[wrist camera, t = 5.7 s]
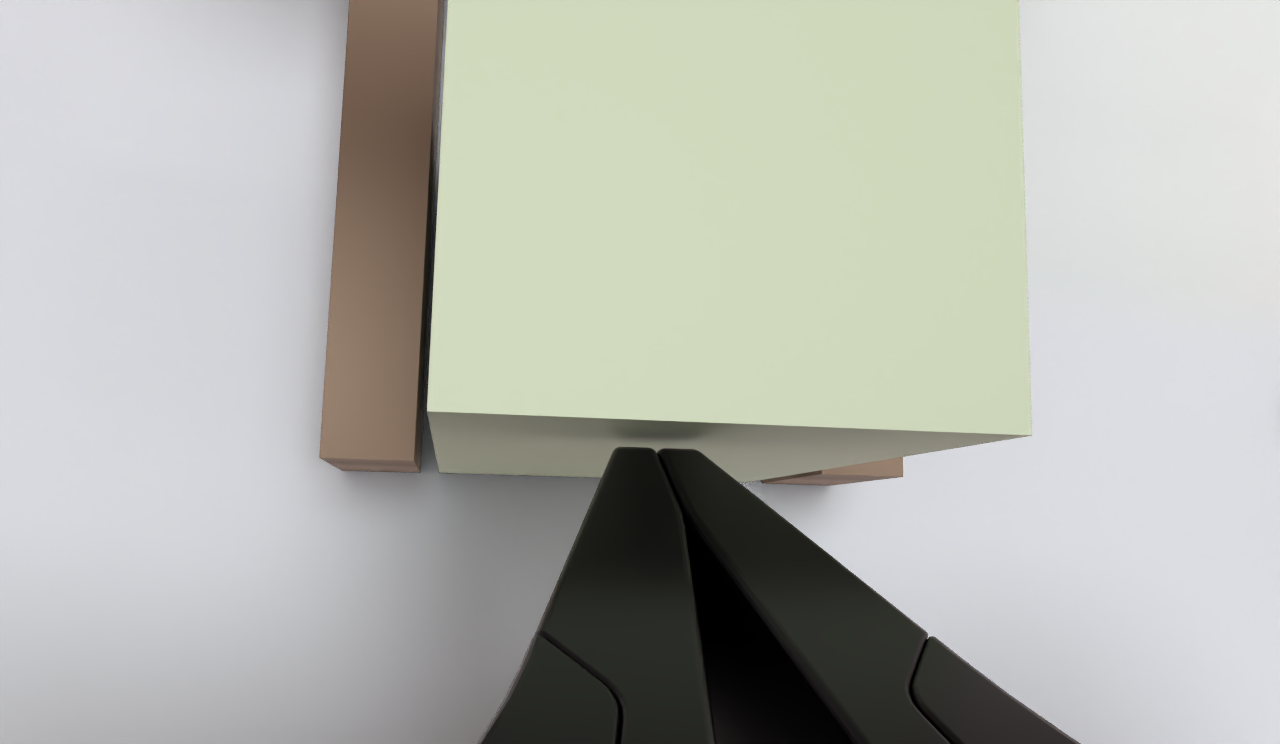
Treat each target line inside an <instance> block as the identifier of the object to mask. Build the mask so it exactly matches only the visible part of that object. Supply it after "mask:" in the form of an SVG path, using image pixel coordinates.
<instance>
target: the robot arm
mask: <svg viewBox="0 0 1280 744" xmlns="http://www.w3.org/2000/svg"><path fill="white" fill-rule="evenodd" d="M927 638H928V634H927V632H926V631H925V630H923V629H922V628H921V627H920V626H918V625H917V624H916V623H915V622H913V621H912V620H911V619H910V618H908V617H907V616H906V615H905V614H903V613H902V612H901V611H900V610H898V609H897V608H896V607H895V606H893V605H892V604H891V603H890V602H888V601H887V600H886V599H885V598H883V597H882V596H881V595H879V594H878V593H877V592H876V591H874V590H873V589H872V588H871V587H869V586H868V585H867V584H866V583H864V582H863V581H862V580H861V579H859V578H858V577H857V576H856V575H854V574H853V573H852V572H851V571H849V570H848V569H847V568H846V567H844V566H843V565H842V564H841V563H839V562H838V561H837V560H836V559H834V558H833V557H832V556H831V555H829V554H828V553H827V552H826V551H824V550H823V549H822V548H821V547H819V546H818V545H817V544H815V543H814V542H813V541H812V540H810V539H809V538H808V537H807V536H805V535H804V534H803V533H802V532H800V531H799V530H798V529H797V528H795V527H794V526H793V525H792V524H790V523H789V522H788V521H787V520H785V519H784V518H783V517H782V516H780V515H779V514H778V513H777V512H775V511H774V510H773V509H772V508H770V507H769V506H768V505H767V504H765V503H764V502H763V501H762V500H760V499H759V498H758V497H756V496H755V495H754V494H753V493H751V492H750V491H749V490H748V489H746V488H745V487H744V486H743V485H741V484H740V483H739V482H738V481H736V480H735V479H734V478H733V477H731V476H730V475H729V474H728V473H726V472H725V471H724V470H723V469H721V468H720V467H719V466H718V465H716V464H715V463H714V462H713V461H711V460H710V459H709V458H708V457H706V456H705V455H704V454H703V453H701V452H699V451H698V450H696V449H679V448H662V449H660V450H658V452H657V453H656V451H655V450H654V449H652V448H647V447H617V448H615V449H614V450H613V452H612V454H611V457H610V459H609V461H608V464H607V466H606V469H605V471H604V473H603V476H602V478H601V480H600V483H599V485H598V487H597V490H596V492H595V494H594V497H593V499H592V501H591V504H590V506H589V509H588V511H587V513H586V516H585V518H584V520H583V523H582V525H581V527H580V530H579V532H578V534H577V537H576V539H575V541H574V544H573V546H572V549H571V551H570V553H569V556H568V558H567V560H566V563H565V565H564V567H563V570H562V572H561V574H560V577H559V579H558V581H557V584H556V586H555V588H554V591H553V593H552V596H551V598H550V600H549V603H548V605H547V607H546V610H545V612H544V614H543V617H542V619H541V621H540V624H539V626H538V628H537V631H536V633H535V636H534V637H533V638H532V640H531V643H530V645H529V647H528V650H527V652H526V654H525V657H524V659H523V661H522V664H521V666H520V668H519V670H518V672H517V674H516V676H515V678H514V680H513V682H512V684H511V686H510V688H509V690H508V692H507V694H506V696H505V698H504V701H503V702H502V704H501V706H500V707H499V709H498V711H497V712H496V714H495V716H494V717H493V719H492V721H491V722H490V724H489V726H488V727H487V729H486V731H485V732H484V734H483V736H482V737H481V739H480V741H479V742H478V744H1080V743H1079V742H1077V741H1076V740H1074V739H1073V738H1071V737H1070V736H1068V735H1067V734H1065V733H1064V732H1062V731H1061V730H1059V729H1058V728H1057V727H1055V726H1054V725H1052V724H1051V723H1049V722H1048V721H1047V720H1045V719H1044V718H1042V717H1041V716H1039V715H1038V714H1037V713H1035V712H1034V711H1032V710H1031V709H1029V708H1028V707H1027V706H1025V705H1024V704H1022V703H1021V702H1019V701H1018V700H1017V699H1015V698H1014V697H1012V696H1011V695H1009V694H1008V693H1007V692H1005V691H1004V690H1003V689H1001V688H1000V687H999V686H998V685H996V684H995V683H994V682H992V681H991V680H990V679H988V678H987V677H986V676H984V675H983V674H982V673H980V672H979V671H978V670H976V669H975V668H974V667H973V666H971V665H970V664H969V663H967V662H966V661H965V660H963V659H962V658H961V657H960V656H958V655H957V654H956V653H954V652H953V651H952V650H951V649H949V648H948V647H947V646H946V645H944V644H943V643H942V642H941V641H939V640H938V639H937V638H936V637H933V636H931V637H929V638H928V639H927Z"/></svg>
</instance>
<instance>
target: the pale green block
mask: <svg viewBox="0 0 1280 744" xmlns="http://www.w3.org/2000/svg"><path fill="white" fill-rule="evenodd" d="M427 414H428V419H429V424H430V429H431V434H432V439H433V444H434V449H435V454H436V459H437V464H438V469H439V473H467V474H499V475H531V476H564V477H596V478H602V476H603V473H604V471H605V469H606V466H607V464H608V461H609V459H610V457H611V454H612V452H613V450H614V449H615V448H617V447H647V448H652V449H654V450H655V451H656V453H657V452H658V450H660V449H662V448H679V449H696V450H698V451H699V452H701V453H703V454H704V455H705V456H706V457H708V458H709V459H710V460H711V461H713V462H714V463H715V464H716V465H718V466H719V467H720V468H721V469H723V470H724V471H725V472H726V473H728V474H729V475H730V476H731V477H733V478H734V479H735V480H736V481H738V482H752V481H758V480H764V479H770V478H776V477H783V476H789V475H795V474H801V473H807V472H813V471H819V470H825V469H831V468H837V467H843V466H849V465H855V464H862V463H868V462H874V461H880V460H886V459H892V458H898V457H904V456H910V455H916V454H922V453H928V452H934V451H941V450H947V449H953V448H959V447H965V446H971V445H977V444H983V443H989V442H995V441H1001V440H1007V439H1013V438H1020V437H1026V436H1032V415H1031V383H1030V350H1029V318H1028V286H1027V254H1026V222H1025V190H1024V158H1023V126H1022V94H1021V62H1020V30H1019V0H448V9H447V28H446V48H445V67H444V87H443V106H442V126H441V145H440V165H439V184H438V204H437V223H436V243H435V262H434V282H433V301H432V321H431V340H430V360H429V379H428V399H427Z"/></svg>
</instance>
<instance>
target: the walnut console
mask: <svg viewBox="0 0 1280 744" xmlns="http://www.w3.org/2000/svg"><path fill="white" fill-rule="evenodd" d="M444 1H445V0H349V14H348V30H347V45H346V60H345V75H344V91H343V106H342V121H341V136H340V152H339V167H338V182H337V198H336V213H335V228H334V243H333V259H332V274H331V289H330V304H329V320H328V335H327V350H326V366H325V381H324V396H323V411H322V427H321V442H320V457H319V458H321V459H323V460H324V461H326V462H328V463H330V464H332V465H333V466H335V467H337V468H339V469H341V470H348V471H381V472H413V473H420V465H421V445H422V426H423V407H424V387H425V368H426V349H427V329H428V310H429V291H430V271H431V252H432V233H433V213H434V194H435V175H436V155H437V136H438V117H439V97H440V78H441V59H442V39H443V20H444ZM897 477H903V457H898V458H892V459H886V460H880V461H874V462H868V463H862V464H855V465H849V466H843V467H837V468H831V469H825V470H819V471H813V472H807V473H801V474H795V475H789V476H783V477H776V478H770V479H764V480H762V483H770V484H803V485H838V484H847V483H855V482H863V481H872V480H880V479H888V478H897Z"/></svg>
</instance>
